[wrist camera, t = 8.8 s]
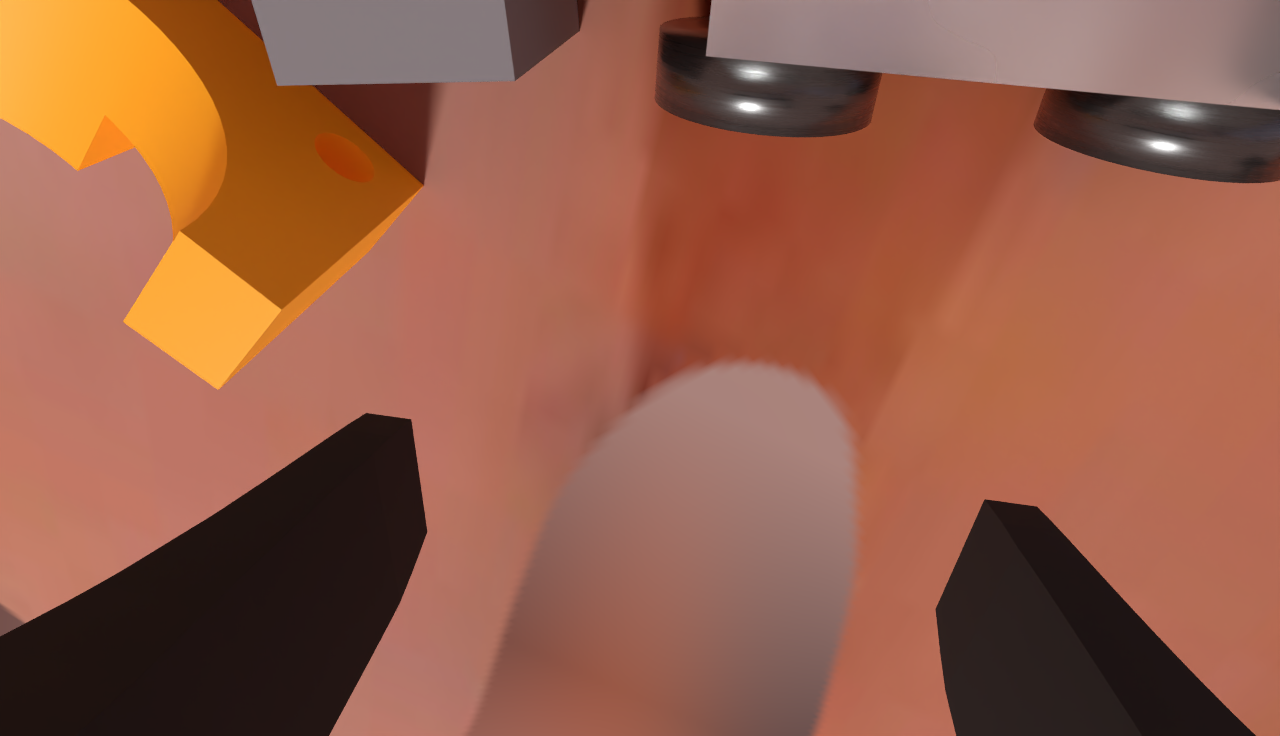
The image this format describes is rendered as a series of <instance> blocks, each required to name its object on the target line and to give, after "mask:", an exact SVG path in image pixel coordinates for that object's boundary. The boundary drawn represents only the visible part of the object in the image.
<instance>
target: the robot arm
mask: <svg viewBox="0 0 1280 736" xmlns="http://www.w3.org/2000/svg"><path fill="white" fill-rule="evenodd" d="M426 534H427V527H426V520H425V513H424V506H423V499H422V492H421V485H420V478H419V471H418V464H417V457H416V450H415V443H414V436H413V429H412V422H411V419H405V418H398V417H390V416H383V415H376V414H369V413H366V414H364V415H362V416H361V417H359V418H358V419H356V420H354V421H353V422H351V423H350V424H348V425H347V426H345V427H344V428H342V429H341V430H339V431H338V432H336V433H335V434H333V435H332V436H330V437H329V438H327V439H326V440H324V441H323V442H321V443H320V444H318V445H317V446H316V447H314V448H313V449H311V450H310V451H308V452H307V453H305V454H304V455H302V456H301V457H299V458H298V459H296V460H295V461H294V462H292V463H291V464H289V465H288V466H286V467H285V468H283V469H282V470H280V471H279V472H277V473H276V474H274V475H273V476H271V477H270V478H268V479H267V480H265V481H264V482H262V483H261V484H259V485H258V486H256V487H255V488H253V489H252V490H250V491H249V492H247V493H246V494H244V495H243V496H241V497H240V498H238V499H237V500H235V501H234V502H232V503H231V504H229V505H228V506H226V507H225V508H223V509H222V510H220V511H219V512H217V513H215V514H214V515H212V516H211V517H209V518H207V519H206V520H204V521H203V522H201V523H199V524H198V525H196V526H194V527H193V528H191V529H189V530H188V531H186V532H185V533H183V534H181V535H180V536H178V537H176V538H175V539H173V540H171V541H170V542H168V543H167V544H165V545H163V546H162V547H160V548H158V549H157V550H155V551H153V552H152V553H150V554H149V555H147V556H145V557H144V558H142V559H140V560H139V561H137V562H135V563H134V564H132V565H131V566H129V567H127V568H126V569H124V570H122V571H121V572H119V573H117V574H115V575H114V576H112V577H110V578H108V579H107V580H105V581H103V582H101V583H100V584H98V585H96V586H94V587H92V588H91V589H89V590H87V591H85V592H83V593H82V594H80V595H78V596H76V597H74V598H73V599H71V600H69V601H67V602H65V603H63V604H61V605H60V606H58V607H56V608H54V609H52V610H50V611H48V612H46V613H44V614H42V615H40V616H39V617H37V618H35V619H33V620H31V621H29V622H27V623H25V624H23V625H21V626H20V627H18V628H16V629H14V630H12V631H10V632H8V633H6V634H4V635H2V636H0V736H329V735H330V733H331V731H332V729H333V727H334V725H335V724H336V722H337V720H338V718H339V716H340V714H341V712H342V711H343V709H344V707H345V705H346V703H347V701H348V699H349V698H350V696H351V694H352V692H353V690H354V688H355V686H356V685H357V683H358V681H359V679H360V677H361V675H362V673H363V672H364V670H365V668H366V666H367V664H368V662H369V660H370V659H371V657H372V655H373V653H374V651H375V649H376V647H377V645H378V644H379V642H380V640H381V638H382V636H383V634H384V632H385V630H386V628H387V627H388V625H389V623H390V621H391V619H392V617H393V615H394V613H395V611H396V609H397V607H398V605H399V603H400V601H401V599H402V596H403V594H404V591H405V589H406V586H407V584H408V581H409V579H410V576H411V574H412V571H413V569H414V566H415V563H416V561H417V558H418V555H419V553H420V550H421V547H422V545H423V542H424V539H425V536H426ZM936 617H937V626H938V635H939V645H940V654H941V661H942V669H943V676H944V683H945V690H946V695H947V699H948V703H949V707H950V712H951V716H952V720H953V724H954V728H955V732H956V736H1256V735H1255V734H1254V733H1253V732H1251V731H1250V730H1249V729H1248V728H1247V727H1246V726H1245V725H1244V724H1243V723H1242V722H1241V721H1240V720H1239V719H1238V718H1237V717H1236V716H1235V715H1234V714H1233V713H1232V712H1231V711H1230V710H1229V709H1228V708H1227V707H1226V706H1225V705H1224V704H1223V703H1222V702H1221V701H1220V700H1219V699H1218V698H1217V697H1216V696H1215V695H1214V694H1213V693H1212V692H1211V691H1210V690H1209V689H1208V688H1207V687H1206V686H1205V685H1204V684H1203V683H1202V682H1201V681H1200V680H1199V679H1198V678H1197V677H1196V676H1195V675H1194V674H1193V673H1192V672H1191V671H1190V670H1189V668H1188V667H1187V666H1186V665H1185V664H1184V663H1183V662H1182V661H1181V660H1180V659H1179V658H1178V657H1177V656H1176V655H1175V654H1174V653H1173V652H1172V651H1171V650H1170V649H1169V648H1168V647H1167V646H1166V644H1165V643H1164V642H1163V641H1162V640H1161V639H1160V638H1159V637H1158V636H1157V635H1156V634H1155V633H1154V632H1153V631H1152V630H1151V629H1150V628H1149V626H1148V625H1147V624H1146V623H1145V622H1144V621H1143V620H1142V619H1141V618H1140V617H1139V616H1138V615H1137V614H1136V613H1135V611H1134V610H1133V609H1132V608H1131V607H1130V606H1129V605H1128V604H1127V603H1126V602H1125V601H1124V600H1123V598H1122V597H1121V596H1120V595H1119V594H1118V593H1117V592H1116V591H1115V590H1114V589H1113V588H1112V587H1111V585H1110V584H1109V583H1108V582H1107V581H1106V580H1105V579H1104V578H1103V577H1102V576H1101V575H1100V573H1099V572H1098V571H1097V570H1096V569H1095V568H1094V567H1093V566H1092V565H1091V564H1090V563H1089V561H1088V560H1087V559H1086V558H1085V557H1084V556H1083V555H1082V554H1081V553H1080V552H1079V551H1078V549H1077V548H1076V547H1075V546H1074V545H1073V544H1072V543H1071V542H1070V541H1069V540H1068V539H1067V537H1066V536H1065V535H1064V534H1063V533H1062V532H1061V531H1060V530H1059V529H1058V528H1057V527H1056V526H1055V525H1054V524H1053V523H1052V522H1051V520H1050V519H1049V518H1048V517H1047V516H1046V515H1045V514H1044V513H1043V512H1042V511H1041V510H1040V509H1039V508H1038V507H1035V506H1028V505H1021V504H1014V503H1007V502H1000V501H992V500H984V502H983V504H982V506H981V509H980V511H979V513H978V515H977V518H976V520H975V522H974V524H973V527H972V529H971V531H970V533H969V536H968V538H967V540H966V542H965V545H964V547H963V549H962V551H961V554H960V556H959V558H958V560H957V563H956V565H955V567H954V569H953V572H952V574H951V576H950V578H949V580H948V583H947V585H946V587H945V589H944V592H943V594H942V596H941V598H940V601H939V603H938V605H937V607H936Z"/></svg>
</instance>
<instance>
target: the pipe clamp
mask: <svg viewBox="0 0 1280 736" xmlns="http://www.w3.org/2000/svg"><path fill="white" fill-rule="evenodd" d="M0 118H1V119H3V120H5V121H7V122H9V123H10V124H12V125H14V126H15V127H17V128H19V129H20V130H22V131H24V132H26V133H27V134H29V135H30V136H32V137H33V138H35V139H36V140H38V141H39V142H41V143H42V144H44V145H45V146H47V147H48V148H50V149H51V150H52V151H54V152H55V153H56V154H57V155H59V156H60V157H61V158H63V159H64V160H65V161H67V162H68V163H69V164H70V165H71V166H73V167H74V168H75V169H76V170H77V171H78V170H81V169H83V168H86V167H88V166H90V165H93V164H95V163H98V162H100V161H103V160H105V159H107V158H110V157H112V156H115V155H117V154H120V153H122V152H124V151H127V150H129V149H132V148H134V147H135V148H136V149H137V150H138V151H139V153H140V154H141V155H142V157H143V158H144V159H145V161H146V162H147V164H148V165H149V167H150V168H151V170H152V171H153V173H154V175H155V177H156V179H157V181H158V183H159V184H160V186H161V188H162V191H163V193H164V196H165V198H166V201H167V203H168V207H169V211H170V215H171V219H172V228H173V242H172V244H171V246H170V247H169V249H168V250H167V252H166V254H165V255H164V257H163V259H162V260H161V262H160V263H159V265H158V267H157V268H156V270H155V271H154V273H153V275H152V276H151V278H150V279H149V281H148V283H147V284H146V286H145V287H144V289H143V291H142V292H141V294H140V295H139V297H138V299H137V300H136V302H135V303H134V305H133V307H132V308H131V310H130V311H129V313H128V315H127V316H126V318H125V320H124V321H123V322H124V323H125V324H127V325H128V326H130V327H131V328H132V329H134V330H135V331H137V332H138V333H139V334H141V335H142V336H144V337H145V338H146V339H148V340H149V341H151V342H152V343H153V344H155V345H156V346H158V347H159V348H160V349H162V350H163V351H164V352H166V353H167V354H169V355H170V356H171V357H173V358H174V359H176V360H177V361H178V362H180V363H181V364H183V365H184V366H185V367H187V368H188V369H190V370H191V371H192V372H194V373H195V374H197V375H198V376H199V377H201V378H202V379H204V380H205V381H206V382H208V383H209V384H211V385H212V386H213V387H215V388H216V389H218V390H219V389H220V388H221V387H222V386H223V385H224V384H225V383H226V382H227V381H229V380H230V379H231V378H232V377H233V376H234V375H235V374H236V373H237V372H238V371H239V370H240V369H242V368H243V367H244V366H245V365H246V364H247V363H248V362H249V361H250V360H251V359H252V358H254V357H255V356H256V355H257V354H258V353H259V352H260V351H261V350H262V349H263V348H264V347H265V346H267V345H268V344H269V343H270V342H271V341H272V340H273V339H274V338H275V337H276V336H277V335H279V334H280V333H281V332H282V331H283V330H284V329H285V328H286V327H287V326H288V325H289V324H290V323H292V322H293V321H294V320H295V319H296V318H297V317H298V316H299V315H300V314H301V313H302V312H304V311H305V310H306V309H307V308H308V307H309V306H310V305H311V304H312V303H313V302H314V301H315V300H317V299H318V298H319V297H320V296H321V295H322V294H323V293H324V292H325V291H326V290H327V289H329V288H330V287H331V286H332V285H333V284H334V283H335V282H336V281H337V280H338V279H339V278H340V277H342V276H343V275H344V274H345V273H346V272H347V271H348V270H349V269H350V268H351V267H352V266H354V265H355V264H356V263H357V262H358V261H359V260H360V259H361V258H362V257H363V256H364V255H365V254H367V253H368V252H369V251H370V249H371V248H372V247H373V246H374V245H375V243H376V242H377V241H378V240H379V239H380V237H381V236H382V235H383V234H384V233H385V231H386V230H387V229H388V228H389V227H390V225H391V224H392V223H393V222H394V221H395V219H396V218H397V217H398V216H399V215H400V213H401V212H402V211H403V210H404V209H405V207H406V206H407V205H408V204H409V203H410V201H411V200H412V199H413V198H414V197H415V195H416V194H417V193H418V192H419V191H420V189H421V188H422V187H423V186H424V185H423V184H421V183H420V182H419V181H418V180H417V179H416V178H415V177H414V176H413V175H411V174H410V173H409V172H408V171H407V170H406V169H405V168H404V167H403V166H401V165H400V164H399V163H398V162H397V161H396V160H395V159H394V158H393V157H391V156H390V155H389V154H388V153H387V152H386V151H385V150H384V149H383V148H381V147H380V146H379V145H378V144H377V143H376V142H375V141H374V140H372V139H371V138H370V137H369V136H368V135H367V134H366V133H365V132H364V131H362V130H361V129H360V128H359V127H358V126H357V125H356V124H355V123H354V122H352V121H351V120H350V119H349V118H348V117H347V116H346V115H345V114H344V113H342V112H341V111H340V110H339V109H338V108H337V107H336V106H335V105H334V104H332V103H331V102H330V101H329V100H328V99H327V98H326V97H325V96H323V95H322V94H321V93H320V92H319V91H318V90H317V89H316V88H315V87H313V86H312V85H290V86H277V83H276V80H275V77H274V73H273V70H272V67H271V63H270V60H269V57H268V53H267V50H266V47H265V44H264V42H263V41H262V40H261V39H260V38H259V37H258V36H257V35H256V34H254V33H253V32H252V31H251V30H250V29H249V28H248V27H247V26H246V25H244V24H243V23H242V22H241V21H240V20H239V19H238V18H237V17H236V16H234V15H233V14H232V13H231V12H230V11H229V10H228V9H227V8H226V7H224V6H223V5H222V4H221V3H220V2H219V1H218V0H0Z"/></svg>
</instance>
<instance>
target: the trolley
mask: <svg viewBox="0 0 1280 736" xmlns="http://www.w3.org/2000/svg"><path fill="white" fill-rule="evenodd" d="M882 73H890V74H901V75H912V76H922V77H933V78H944V79H954V80H965V81H976V82H986V83H997V84H1008V85H1018V86H1029V87H1040V88H1046V91H1045V93H1044V96H1043V99H1042V102H1041V105H1040V107H1039V110H1038V113H1037V116H1036V119H1035V121H1034V127H1035V129H1036V130H1037V131H1038V132H1039V133H1040V134H1041V135H1043V136H1044V137H1046V138H1048V139H1049V140H1051V141H1053V142H1055V143H1057V144H1059V145H1061V146H1064V147H1066V148H1069V149H1071V150H1074V151H1077V152H1080V153H1083V154H1085V155H1088V156H1092V157H1095V158H1098V159H1101V160H1105V161H1109V162H1112V163H1116V164H1120V165H1124V166H1128V167H1132V168H1136V169H1141V170H1146V171H1151V172H1155V173H1161V174H1167V175H1172V176H1178V177H1185V178H1192V179H1199V180H1208V181H1218V182H1232V183H1264V182H1273V181H1279V180H1280V0H712V2H711V12H710V16H707V17H689V18H680V19H675V20H670V21H667V22H665V23H663V24H662V25H660V32H659V46H658V60H657V74H656V88H655V100H656V102H657V104H658V105H659V106H660V107H662V108H663V109H664V110H666V111H668V112H669V113H671V114H673V115H676V116H678V117H680V118H683V119H686V120H689V121H692V122H695V123H699V124H702V125H706V126H710V127H715V128H719V129H724V130H729V131H736V132H742V133H749V134H757V135H768V136H781V137H824V136H835V135H842V134H847V133H851V132H855V131H858V130H861V129H863V128H865V127H866V126H868V125H869V124H870V122H871V118H872V114H873V110H874V106H875V101H876V97H877V93H878V89H879V84H880V80H881V76H882Z"/></svg>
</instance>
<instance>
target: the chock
mask: <svg viewBox="0 0 1280 736" xmlns="http://www.w3.org/2000/svg"><path fill="white" fill-rule="evenodd" d="M251 1H252V4H253V7H254V11H255V14H256V17H257V21H258V24H259V27H260V30H261V34H262V37H263V40H264V44H265V47H266V50H267V53H268V57H269V60H270V63H271V67H272V70H273V73H274V77H275V80H276V83H277V86H290V85H339V84H389V83H439V82H489V81H516V80H517V79H518V78H519V77H521V76H522V75H523V74H525V73H526V72H527V71H528V70H530V69H531V68H532V67H534V66H535V65H536V64H537V63H539V62H540V61H541V60H543V59H544V58H545V57H546V56H548V55H549V54H550V53H552V52H553V51H554V50H555V49H557V48H558V47H559V46H561V45H562V44H563V43H564V42H566V41H567V40H568V39H570V38H571V37H572V36H573V35H575V34H576V33H577V32H579V31H580V30H579V18H578V6H577V0H251Z"/></svg>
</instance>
